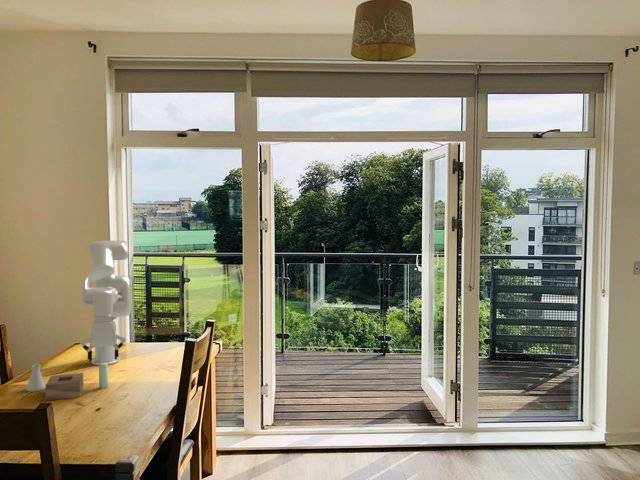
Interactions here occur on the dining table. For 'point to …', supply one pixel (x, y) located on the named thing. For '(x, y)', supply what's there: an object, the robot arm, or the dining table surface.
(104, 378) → the peg
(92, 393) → the dining table surface
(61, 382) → the socket block
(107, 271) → the robot arm
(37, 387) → the flask
